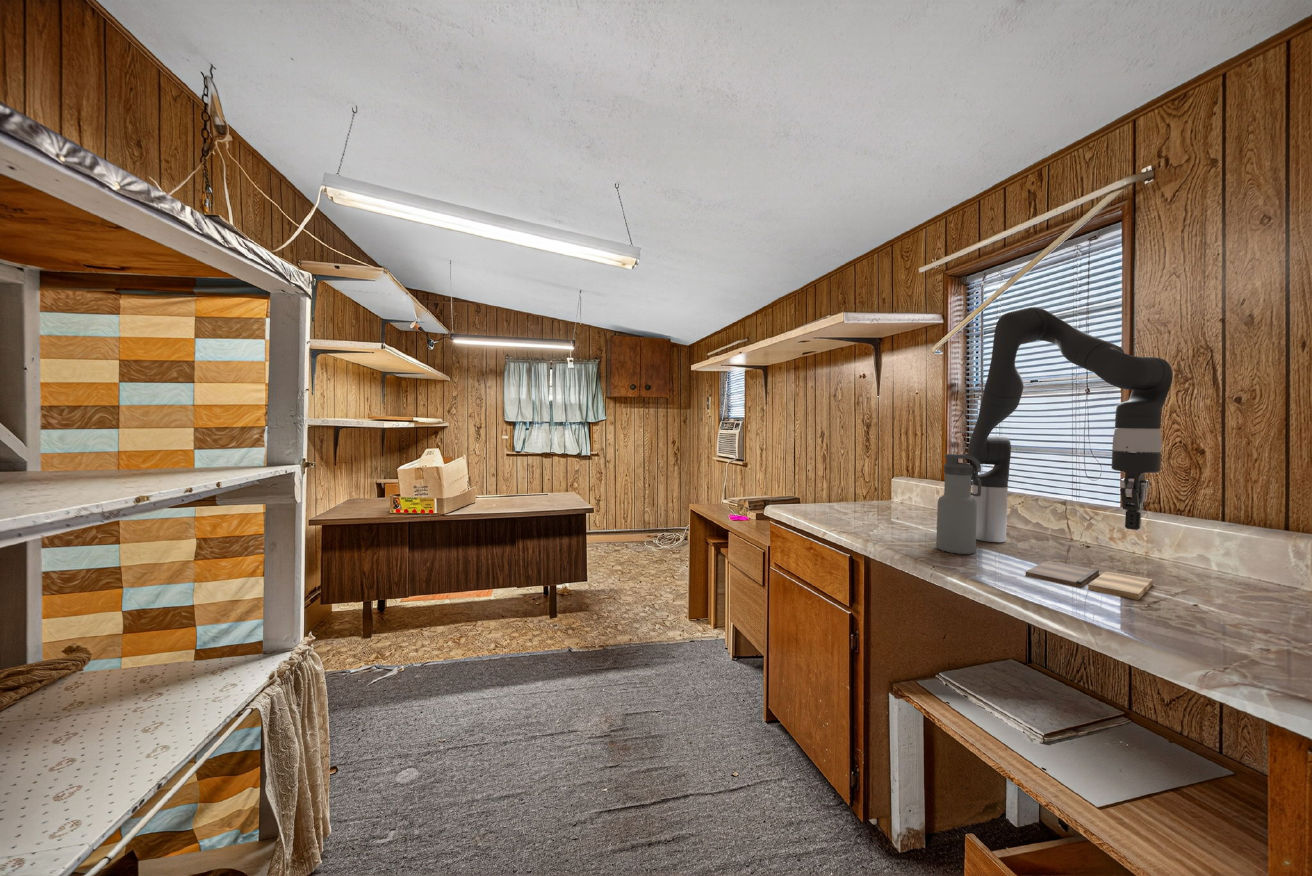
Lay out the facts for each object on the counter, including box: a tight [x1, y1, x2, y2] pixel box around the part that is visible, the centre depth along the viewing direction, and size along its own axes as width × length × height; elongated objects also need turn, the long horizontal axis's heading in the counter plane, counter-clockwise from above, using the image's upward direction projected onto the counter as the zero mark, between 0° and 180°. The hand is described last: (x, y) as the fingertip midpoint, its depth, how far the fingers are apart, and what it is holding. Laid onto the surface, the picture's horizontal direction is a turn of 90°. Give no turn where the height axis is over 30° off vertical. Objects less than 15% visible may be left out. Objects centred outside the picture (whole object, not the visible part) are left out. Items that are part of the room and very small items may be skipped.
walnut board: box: [1024, 560, 1100, 589], centre depth 114 cm, size 16×10×2 cm, turn 127°
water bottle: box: [935, 453, 982, 555], centre depth 139 cm, size 10×10×28 cm
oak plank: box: [1087, 571, 1154, 601], centre depth 106 cm, size 16×8×2 cm, turn 127°
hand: (1132, 528), depth 104 cm, fingers closed
